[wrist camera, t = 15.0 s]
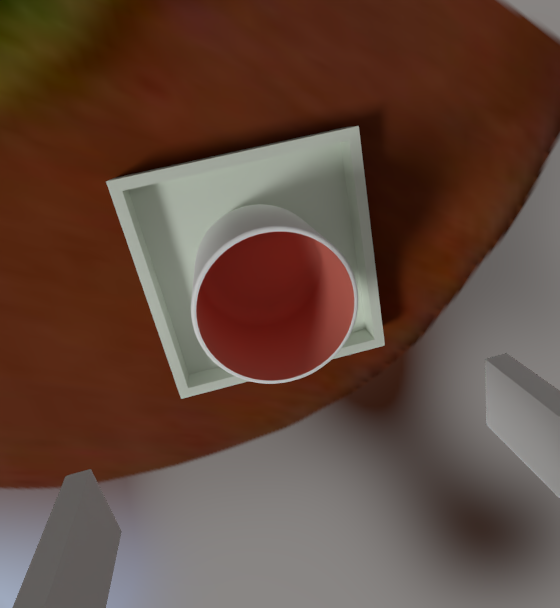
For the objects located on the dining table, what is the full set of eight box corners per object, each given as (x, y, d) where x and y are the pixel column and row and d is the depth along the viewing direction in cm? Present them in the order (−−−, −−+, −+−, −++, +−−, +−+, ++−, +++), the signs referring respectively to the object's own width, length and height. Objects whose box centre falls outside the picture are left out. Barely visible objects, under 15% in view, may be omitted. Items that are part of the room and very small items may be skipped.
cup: (226, 179, 32) (234, 195, 22) (340, 234, 35) (389, 268, 25) (175, 296, 34) (164, 353, 25) (285, 338, 37) (312, 404, 28)
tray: (114, 177, 31) (105, 181, 28) (345, 127, 32) (358, 125, 30) (183, 380, 38) (181, 398, 35) (372, 330, 39) (384, 345, 36)
